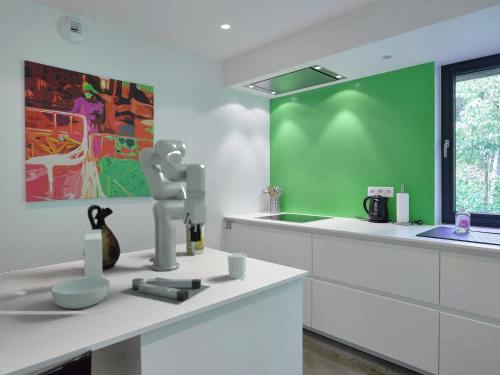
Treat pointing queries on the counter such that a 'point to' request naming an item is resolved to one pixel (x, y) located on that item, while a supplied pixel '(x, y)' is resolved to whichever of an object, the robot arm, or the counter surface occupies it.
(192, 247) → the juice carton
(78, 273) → the counter surface
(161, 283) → the moving tong arm
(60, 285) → the cereal bowl
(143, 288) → the bar
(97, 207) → the ceramic jug
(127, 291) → the slate board
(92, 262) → the milk
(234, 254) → the white cup
